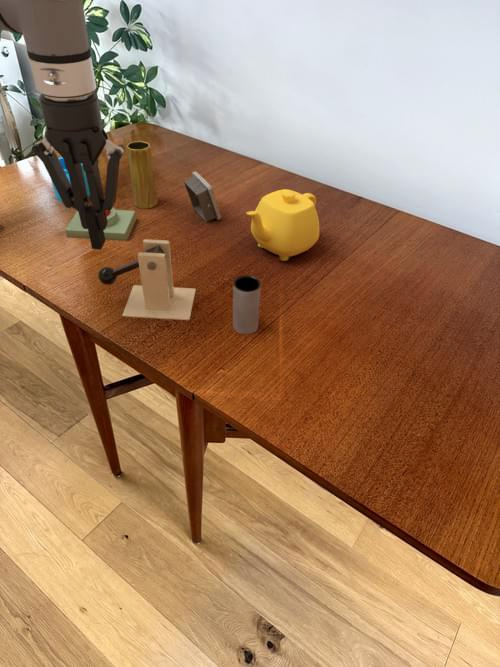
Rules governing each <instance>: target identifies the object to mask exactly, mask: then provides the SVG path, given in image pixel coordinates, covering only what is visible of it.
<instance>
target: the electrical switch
mask: <svg viewBox="0 0 500 667" xmlns="http://www.w3.org/2000/svg"><path fill="white" fill-rule="evenodd" d="M183 183H184V186H185V188H186V192H187V194H188V197H189V200H190V202H191V205H192V208H194V210H195V211H196V212H197V214H198V215H199V216H200V217H201V218H202V219H203V220H204V221H205V223H208V222H210V221H212V220H214V219H216V220H217V221H221V220H222V215H221V212H220V211H221V210H220V208H219V205H218V201H217V198H216V194H215V192H214V190H213V187H212V185H211V184H210V183H209V182H207V180H206V179H205V178H204V177H203V176H202V175H201V174H200V173H198V172H197V170H196V171H192V176H190V177H189V178H187V179H186V180H183Z"/></svg>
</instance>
